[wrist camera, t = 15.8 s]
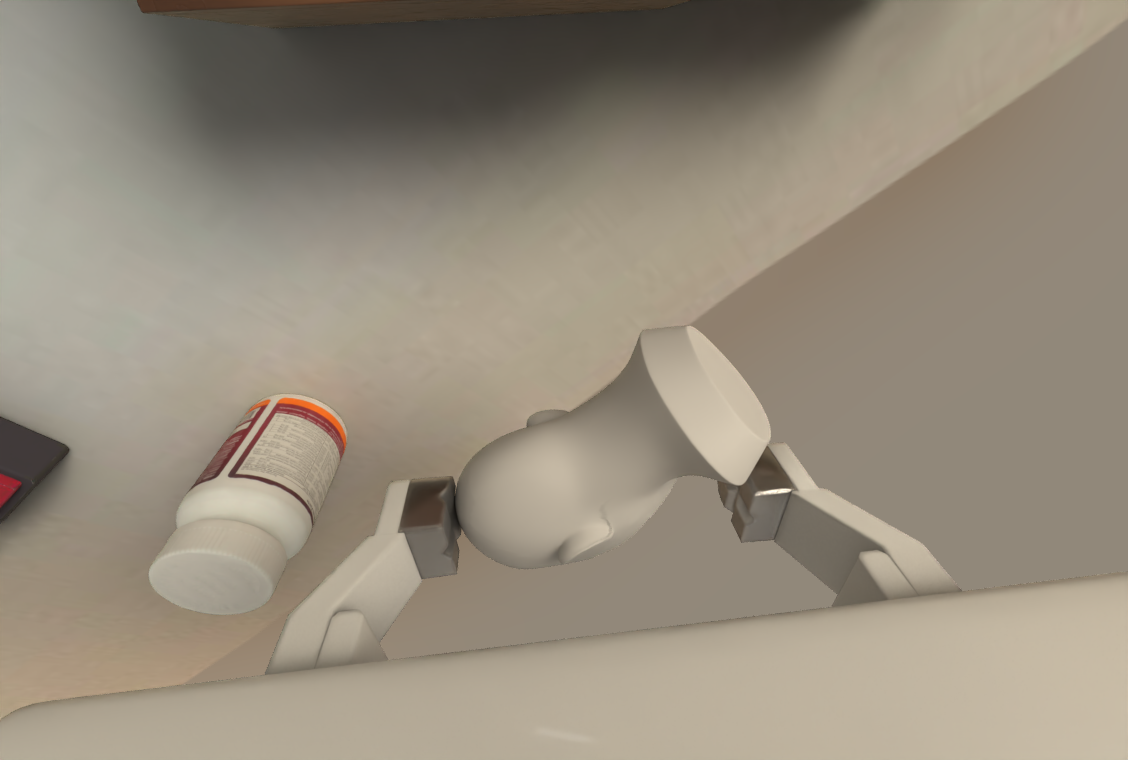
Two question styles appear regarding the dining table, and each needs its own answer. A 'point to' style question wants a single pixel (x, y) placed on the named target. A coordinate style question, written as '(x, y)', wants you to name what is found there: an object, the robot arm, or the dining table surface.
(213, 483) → the pill bottle
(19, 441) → the calculator
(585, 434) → the white mannequin head
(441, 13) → the cabinet
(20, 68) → the dining table surface
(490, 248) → the dining table surface
